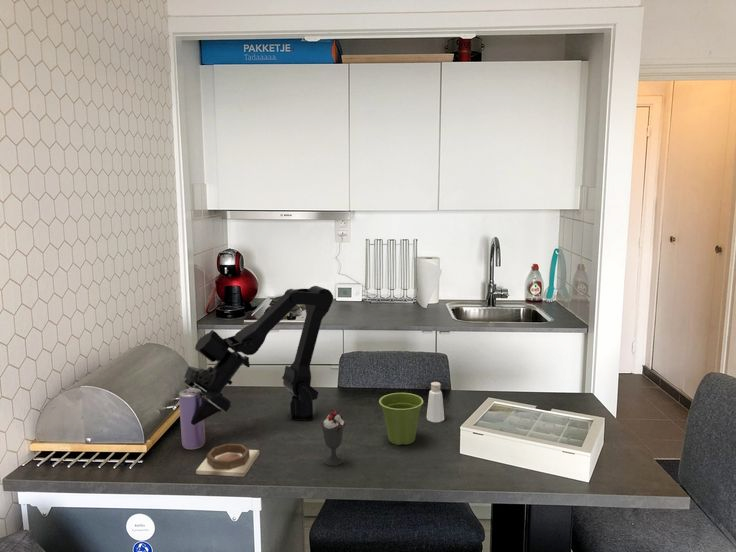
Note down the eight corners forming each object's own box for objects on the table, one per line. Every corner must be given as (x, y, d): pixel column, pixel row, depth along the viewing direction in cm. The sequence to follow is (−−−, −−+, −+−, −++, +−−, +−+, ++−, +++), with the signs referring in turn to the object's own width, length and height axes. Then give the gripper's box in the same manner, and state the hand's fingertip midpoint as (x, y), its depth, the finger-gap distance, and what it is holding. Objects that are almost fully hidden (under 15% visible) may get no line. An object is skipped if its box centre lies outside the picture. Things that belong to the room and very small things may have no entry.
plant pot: (387, 428, 171) (386, 390, 169) (427, 434, 167) (428, 395, 165) (373, 446, 160) (373, 405, 158) (416, 452, 156) (416, 411, 154)
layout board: (259, 453, 157) (258, 442, 156) (244, 476, 145) (243, 465, 144) (214, 451, 158) (214, 440, 158) (196, 474, 146) (195, 462, 146)
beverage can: (198, 451, 158) (195, 396, 156) (178, 449, 160) (174, 395, 157) (209, 441, 164) (206, 388, 162) (189, 439, 165) (185, 387, 163)
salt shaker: (423, 421, 176) (424, 385, 174) (429, 414, 181) (429, 379, 179) (441, 423, 174) (442, 387, 172) (446, 416, 179) (447, 381, 177)
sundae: (327, 470, 148) (325, 412, 145) (316, 458, 154) (315, 402, 151) (351, 463, 151) (350, 406, 148) (340, 453, 157) (338, 398, 154)
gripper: (189, 347, 167) (152, 394, 163) (217, 363, 153) (177, 416, 148) (217, 368, 173) (182, 414, 169) (247, 386, 159) (209, 437, 154)
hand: (187, 419), depth 160 cm, fingers open, 7 cm apart
